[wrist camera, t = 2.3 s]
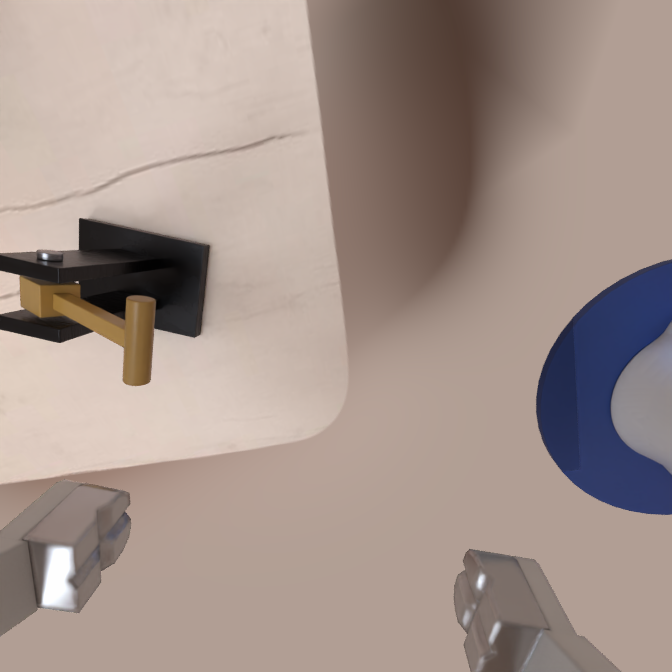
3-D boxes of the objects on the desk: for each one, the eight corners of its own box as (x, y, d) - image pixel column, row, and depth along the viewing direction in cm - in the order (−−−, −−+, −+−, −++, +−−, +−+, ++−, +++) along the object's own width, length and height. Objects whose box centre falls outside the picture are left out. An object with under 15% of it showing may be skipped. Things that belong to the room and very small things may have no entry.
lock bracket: (209, 245, 34) (118, 248, 22) (200, 334, 36) (114, 384, 24) (88, 218, 34) (-69, 207, 22) (87, 309, 37) (-55, 344, 24)
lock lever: (169, 300, 20) (127, 303, 18) (163, 380, 22) (123, 391, 20) (60, 255, 26) (17, 253, 24) (60, 322, 27) (21, 325, 25)
